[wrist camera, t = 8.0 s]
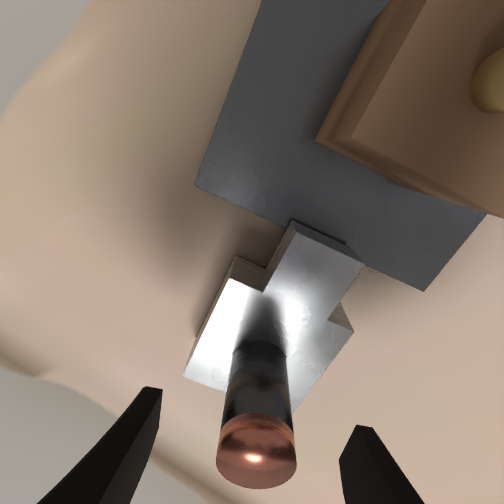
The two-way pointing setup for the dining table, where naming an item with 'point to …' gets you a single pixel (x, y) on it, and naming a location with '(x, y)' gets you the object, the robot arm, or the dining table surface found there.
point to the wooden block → (428, 101)
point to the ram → (272, 349)
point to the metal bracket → (320, 146)
